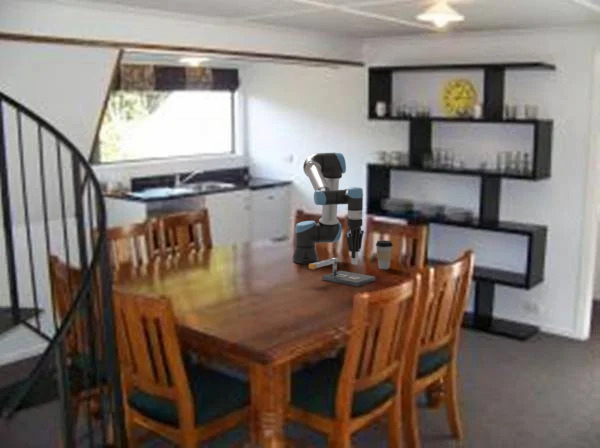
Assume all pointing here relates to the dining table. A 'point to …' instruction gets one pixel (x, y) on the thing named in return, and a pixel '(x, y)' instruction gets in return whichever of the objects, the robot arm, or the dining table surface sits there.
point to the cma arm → (323, 263)
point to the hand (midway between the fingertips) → (354, 264)
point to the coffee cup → (384, 254)
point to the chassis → (348, 277)
